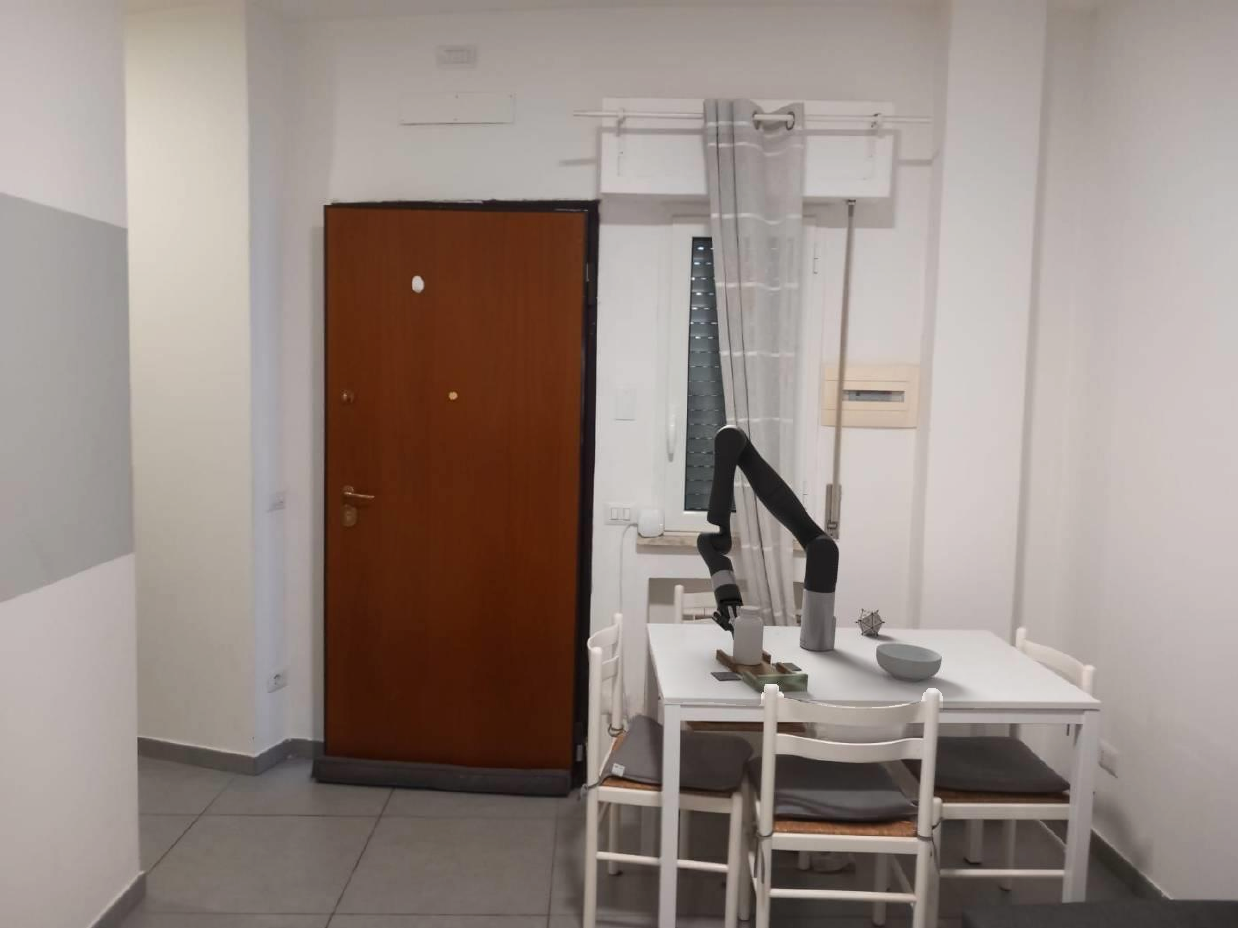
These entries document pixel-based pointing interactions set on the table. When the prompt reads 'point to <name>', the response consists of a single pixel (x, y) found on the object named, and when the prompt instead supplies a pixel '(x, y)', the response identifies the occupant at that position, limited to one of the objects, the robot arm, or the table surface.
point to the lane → (763, 673)
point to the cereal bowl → (908, 661)
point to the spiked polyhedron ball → (870, 622)
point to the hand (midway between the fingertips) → (739, 642)
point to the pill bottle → (748, 636)
